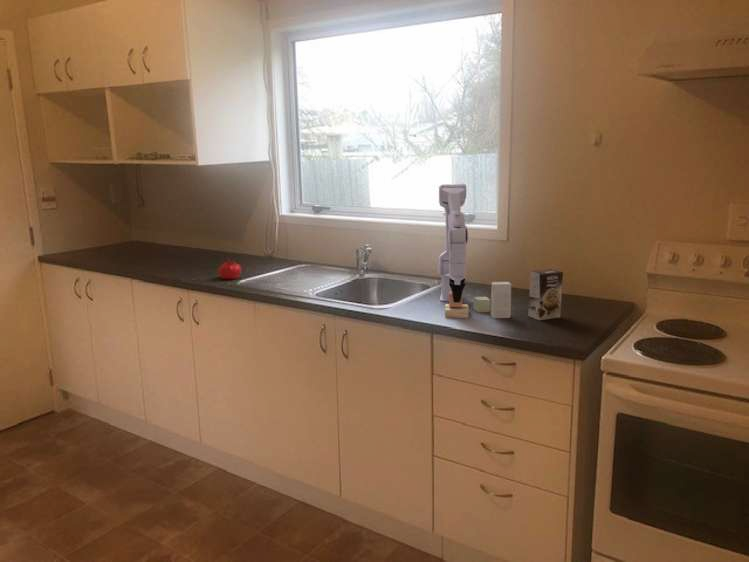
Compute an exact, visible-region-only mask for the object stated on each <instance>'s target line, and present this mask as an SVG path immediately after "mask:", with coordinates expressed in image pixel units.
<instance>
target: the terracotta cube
mask: <svg viewBox="0 0 749 562" xmlns="http://www.w3.org/2000/svg"><path fill="white" fill-rule="evenodd" d="M448 302H449V303H448V304H449V307H462V304H463V294H462V295H461V300H460V303H457V302H454V301H453V295H452V291H449V301H448Z"/></svg>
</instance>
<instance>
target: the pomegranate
mask: <svg viewBox="0 0 749 562" xmlns="http://www.w3.org/2000/svg"><path fill="white" fill-rule="evenodd" d="M218 274H219V278H221V280H236V279H239V277H240V276H241V274H242V266H241V264H239V263H237V262H236V261H235V260H233V261H230V258H229V257H227V261H223V264H221V265H220V266H219V268H218Z"/></svg>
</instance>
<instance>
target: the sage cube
mask: <svg viewBox="0 0 749 562" xmlns="http://www.w3.org/2000/svg"><path fill="white" fill-rule="evenodd" d="M473 310H474V311H475V312H477V313H487V312H488V313H491V299H490V298H489V297H487V296H475V297H473Z"/></svg>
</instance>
